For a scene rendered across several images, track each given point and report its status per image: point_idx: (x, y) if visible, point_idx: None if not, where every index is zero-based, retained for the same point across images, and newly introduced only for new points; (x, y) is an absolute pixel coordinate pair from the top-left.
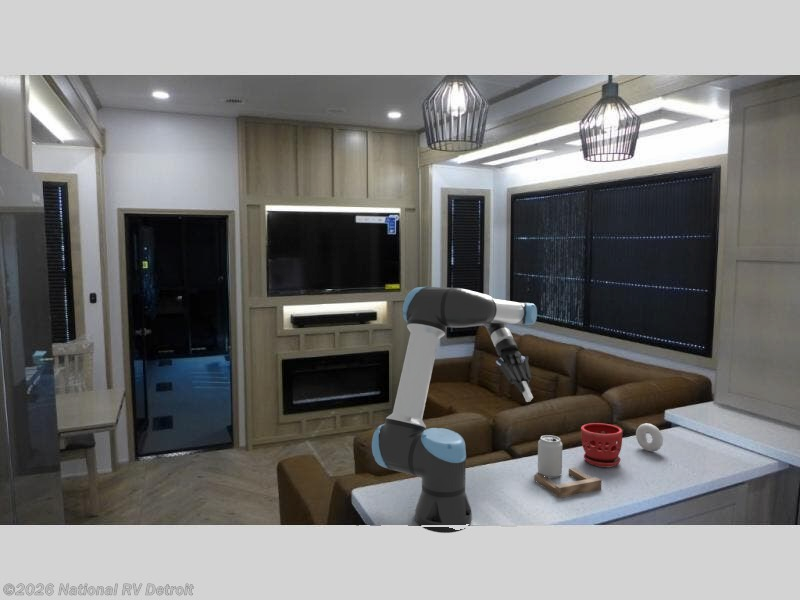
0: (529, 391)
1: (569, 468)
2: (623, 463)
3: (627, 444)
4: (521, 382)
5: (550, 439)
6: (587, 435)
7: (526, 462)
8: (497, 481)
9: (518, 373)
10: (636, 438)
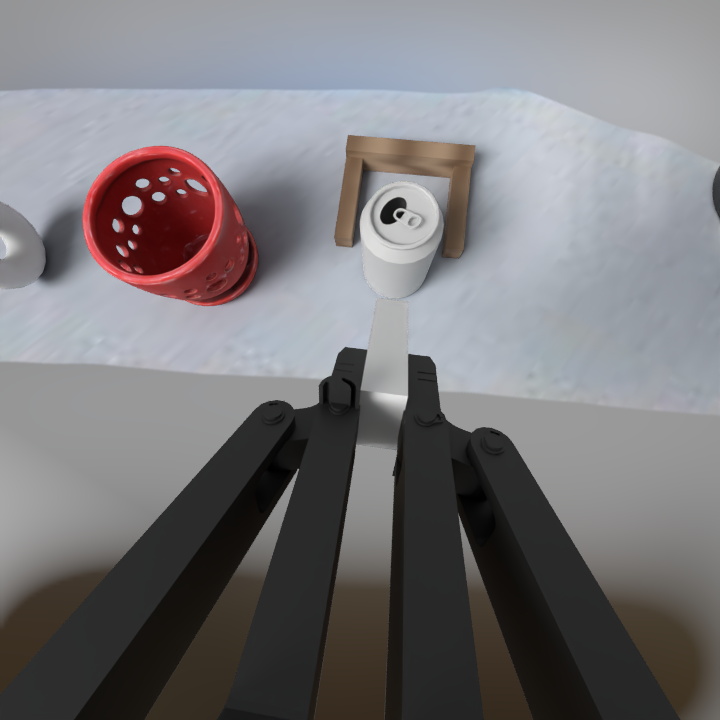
0: (383, 323)
1: (349, 238)
2: None
3: (42, 324)
4: (404, 410)
5: (406, 210)
6: (230, 218)
7: None
8: (550, 297)
9: (336, 574)
10: (15, 285)
